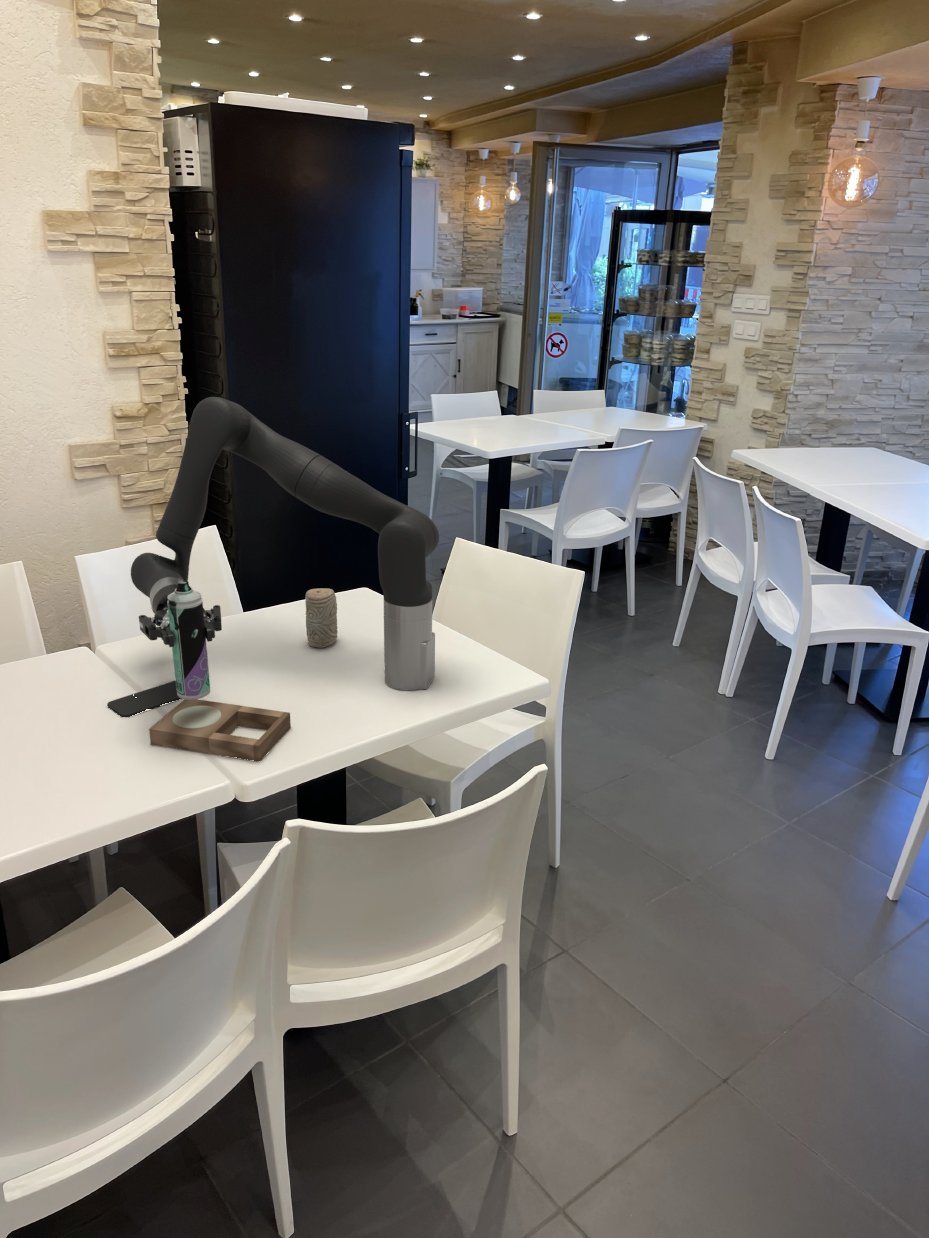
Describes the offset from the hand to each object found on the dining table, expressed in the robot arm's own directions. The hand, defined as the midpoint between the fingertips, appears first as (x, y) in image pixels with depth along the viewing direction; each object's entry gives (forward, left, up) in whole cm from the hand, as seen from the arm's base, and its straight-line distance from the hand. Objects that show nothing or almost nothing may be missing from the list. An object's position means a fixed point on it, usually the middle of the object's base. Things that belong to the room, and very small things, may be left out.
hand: (190, 638), depth 146 cm
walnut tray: (-3, -2, -19) cm, 19 cm away
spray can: (+2, -2, -11) cm, 11 cm away
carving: (-4, -44, -19) cm, 48 cm away
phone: (+16, -11, -19) cm, 27 cm away
